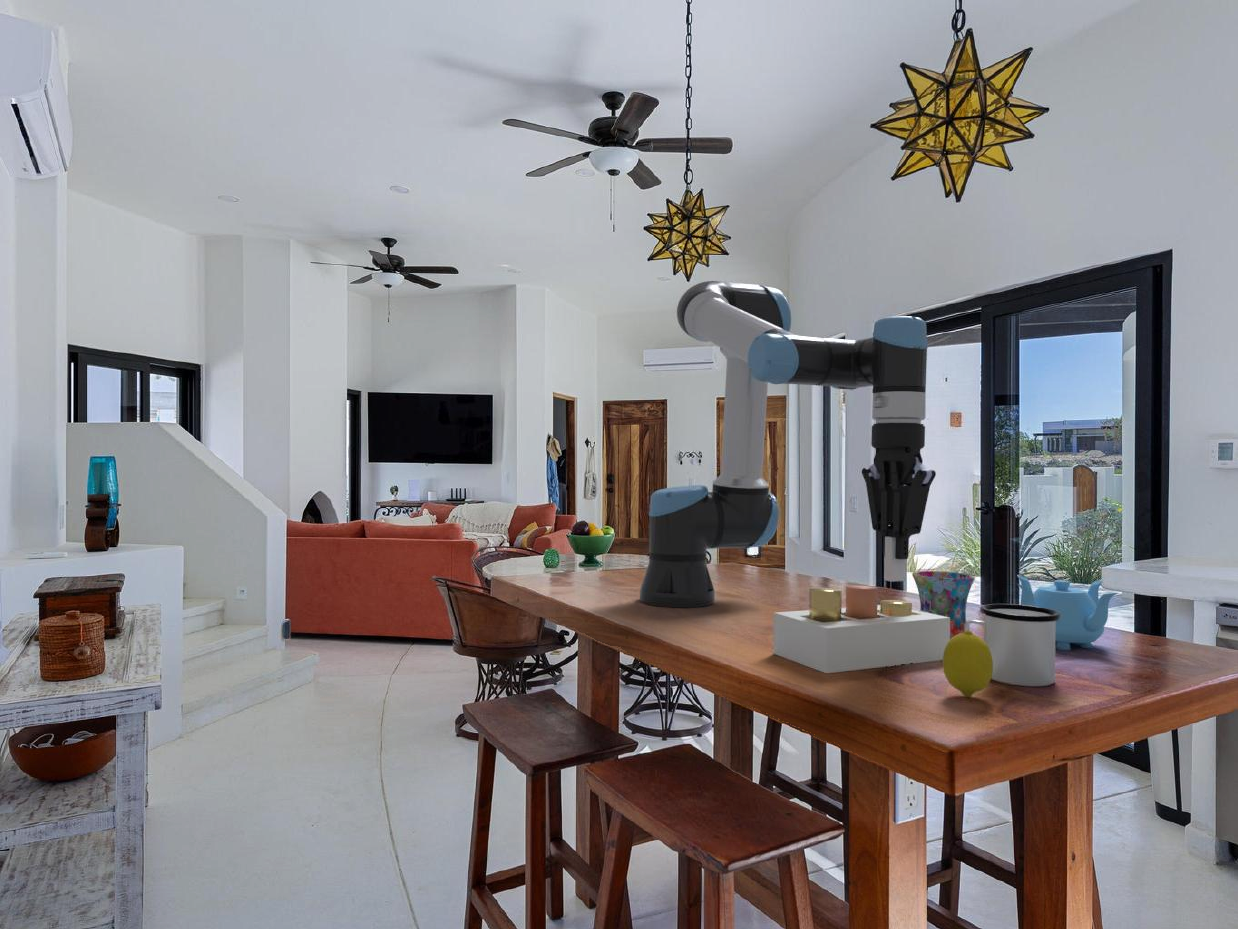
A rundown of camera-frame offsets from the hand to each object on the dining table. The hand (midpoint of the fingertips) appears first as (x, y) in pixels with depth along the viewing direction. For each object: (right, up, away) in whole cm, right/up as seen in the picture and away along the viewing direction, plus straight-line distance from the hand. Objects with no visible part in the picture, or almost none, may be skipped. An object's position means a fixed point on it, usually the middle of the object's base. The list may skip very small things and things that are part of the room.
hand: (894, 580), depth 118 cm
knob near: (-12, -6, -6) cm, 14 cm away
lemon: (+1, -11, -23) cm, 25 cm away
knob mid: (-6, -6, -3) cm, 9 cm away
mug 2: (+11, -11, -13) cm, 20 cm away
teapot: (+29, -11, +7) cm, 32 cm away
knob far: (0, -8, 0) cm, 8 cm away
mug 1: (+12, -11, +9) cm, 19 cm away
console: (-6, -11, -3) cm, 13 cm away
